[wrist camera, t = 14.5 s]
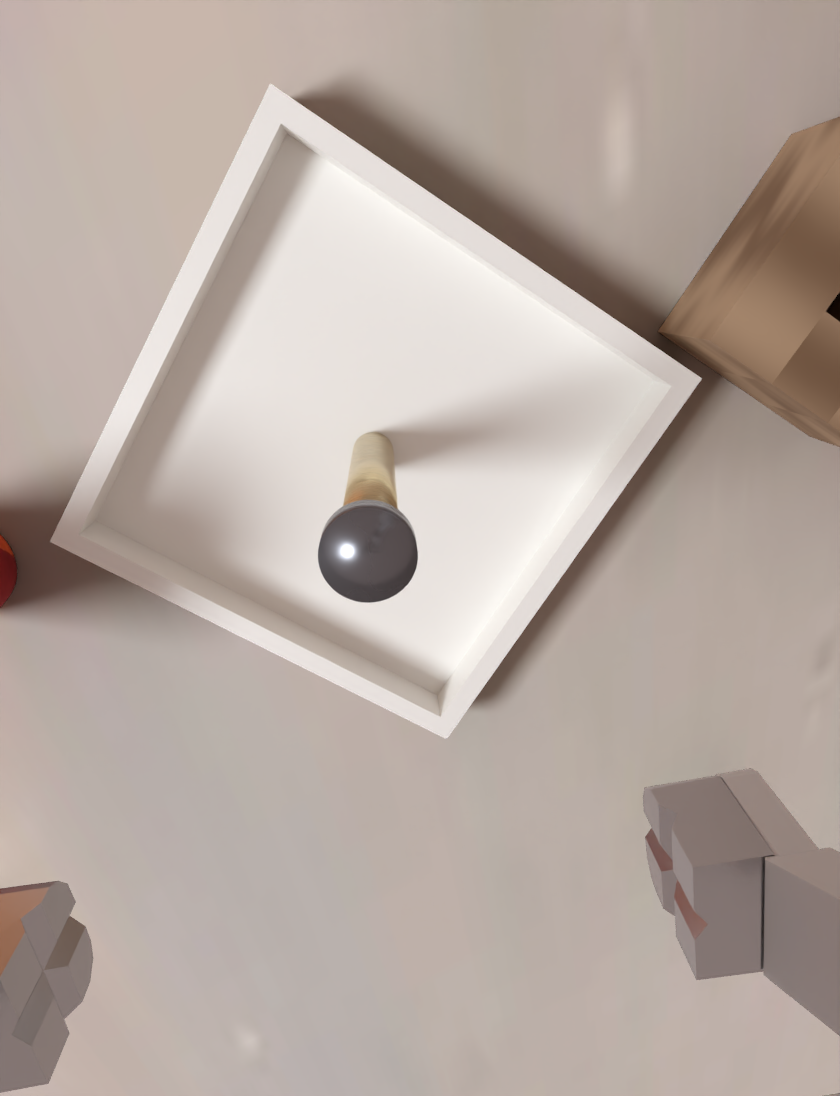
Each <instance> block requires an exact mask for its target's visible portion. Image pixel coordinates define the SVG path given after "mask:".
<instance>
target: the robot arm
mask: <svg viewBox="0 0 840 1096" xmlns="http://www.w3.org/2000/svg"><path fill="white" fill-rule="evenodd" d="M643 807H644V813H645V815H646V817H647V819H648V821H649V823H650V825H651V827H652V828H651V829H650V831H649V832H648V834H647V835H646V837H645V841H646V852H647V860H648V864H649V869H650V874H651V878H652V881H653V884H654V887H655V890H656V893H657V895H658V897H659V900H660V902H661V904H662V906H663V909H665V910H666V911H668V912H669V913H671V914H672V915H674V916H675V925H676V937H677V939H678V941H679V944H680V946H681V948H682V950H683V952H684V954H685V956H686V959H687V961H688V963H689V965H690V967H691V969H692V971H693V974H694V976H695V978H696V980H701V979H709V978H716V977H724V976H732V975H740V974H747V973H755V972H763V971H764V976H766V977H767V978H768V979H769V980H770V981H772V982H773V983H774V984H775V985H777V986H778V987H779V988H780V989H782V990H783V991H784V992H785V993H787V994H788V995H789V996H790V997H792V998H793V999H794V1000H795V1001H797V1002H798V1003H799V1004H800V1005H802V1006H803V1007H804V1008H805V1009H807V1010H808V1011H809V1012H810V1013H812V1014H813V1015H814V1016H815V1017H817V1018H818V1019H819V1020H820V1021H822V1022H823V1023H824V1024H825V1025H827V1026H828V1027H829V1028H830V1029H832V1030H833V1031H834V1032H835V1033H837V1034H838V1035H839V1036H840V852H838V851H836V850H834V849H832V848H824V849H818V847H817V846H816V845H815V844H814V842H813V841H812V840H811V839H810V837H809V836H808V835H807V834H806V832H805V831H804V830H803V828H802V827H801V826H800V825H799V823H798V822H797V821H796V820H795V818H794V817H793V816H792V815H791V813H790V812H789V811H788V809H787V808H786V807H785V806H784V804H783V803H782V802H781V801H780V799H779V798H778V797H777V796H776V794H775V793H774V792H773V790H772V789H771V788H770V787H769V785H768V784H767V783H766V782H765V780H764V779H763V778H762V777H761V775H760V774H759V773H758V772H757V771H755V770H753V769H751V768H749V769H743V770H738V771H732V772H727V773H721V774H716V775H715V776H709V777H703V778H697V779H691V780H685V781H679V782H673V783H667V784H661V785H655V786H649V787H645V788H644V793H643ZM75 903H76V901H75V899H74V897H73V895H72V893H71V890H70V888H69V886H68V884H67V883H63V882H60V881H53V882H46V883H39V884H31V885H24V886H16V887H9V888H2V889H0V1093H1V1092H7V1091H12V1090H17V1089H22V1088H28V1087H33V1086H38V1085H43V1084H48V1083H49V1081H50V1079H51V1076H52V1074H53V1071H54V1069H55V1067H56V1064H57V1062H58V1059H59V1057H60V1055H61V1052H62V1050H63V1047H64V1045H65V1043H66V1040H67V1038H68V1035H69V1031H68V1028H67V1025H66V1022H65V1020H64V1019H65V1018H66V1017H67V1016H68V1015H69V1014H70V1013H71V1012H72V1011H73V1010H74V1009H75V1008H76V1007H77V1006H78V1005H79V1004H80V1003H81V1002H82V1001H83V999H84V996H85V993H86V991H87V988H88V986H89V983H90V979H91V971H92V963H93V953H92V945H91V940H90V937H89V934H88V932H87V929H86V927H85V926H84V925H82V924H81V923H80V922H78V921H77V920H75V919H74V918H72V917H71V916H70V914H71V912H72V909H73V907H74V905H75ZM824 1096H840V1093H837V1094H830V1095H824Z"/></svg>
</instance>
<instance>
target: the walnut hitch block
mask: <svg viewBox="0 0 840 1096" xmlns="http://www.w3.org/2000/svg"><path fill="white" fill-rule="evenodd" d="M839 292H840V117H838V118H835V119H832V120H830V121H827V122H824V123H821V124H819V125H816V126H813V127H810V128H808V129H805V130H802V131H799V132H796V133H794V134H791V136H790V137H789V139H788V140H787V142H786V143H785V145H784V146H783V147H782V149H781V150H780V152H779V153H778V155H777V156H776V158H775V159H774V161H773V162H772V164H771V165H770V167H769V168H768V170H767V171H766V173H765V174H764V175H763V177H762V178H761V180H760V181H759V183H758V184H757V186H756V187H755V189H754V190H753V192H752V193H751V195H750V196H749V198H748V199H747V201H746V202H745V204H744V205H743V206H742V208H741V209H740V211H739V212H738V214H737V215H736V217H735V218H734V220H733V221H732V223H731V224H730V226H729V227H728V229H727V230H726V232H725V233H724V234H723V236H722V237H721V239H720V240H719V242H718V243H717V245H716V246H715V248H714V249H713V251H712V252H711V254H710V255H709V257H708V258H707V260H706V261H705V262H704V264H703V265H702V267H701V268H700V270H699V271H698V273H697V274H696V276H695V277H694V279H693V280H692V282H691V283H690V285H689V286H688V288H687V289H686V290H685V292H684V293H683V295H682V296H681V298H680V299H679V301H678V302H677V304H676V305H675V307H674V308H673V310H672V311H671V313H670V314H669V316H668V317H667V319H666V320H665V321H664V323H663V324H662V326H661V327H660V329H659V330H658V332H659V333H660V334H662V335H663V336H665V337H666V338H668V339H669V340H671V341H672V342H673V343H675V344H676V345H678V346H679V347H681V348H682V349H684V350H685V351H687V352H688V353H689V354H691V355H692V356H694V357H695V358H697V359H698V360H700V361H701V362H702V363H704V364H705V365H707V366H708V367H710V368H711V369H713V370H714V371H716V372H717V373H718V374H720V375H721V376H723V377H724V378H726V379H727V380H729V381H730V382H731V383H733V384H734V385H736V386H737V387H739V388H740V389H742V390H743V391H745V392H746V393H747V394H749V395H750V396H752V397H753V398H755V399H756V400H758V401H759V402H760V403H762V404H763V405H765V406H766V407H768V408H769V409H771V410H772V411H774V412H775V413H776V414H778V415H779V416H781V417H782V418H784V419H785V420H787V421H788V422H789V423H791V424H792V425H794V426H795V427H797V428H798V429H800V430H801V431H803V432H804V433H805V434H807V435H808V436H810V437H813V438H816V439H818V440H821V441H824V442H827V443H830V444H833V445H836V446H838V447H840V294H839ZM838 294H839V296H838V297H837V299H836V300H835V301H834V303H833V304H832V305H831V303H832V302H833V300H834V299H835V298H836V296H837V295H838ZM830 305H831V307H830V308H829V309H828V307H829V306H830ZM827 309H828V311H827V312H826V310H827Z"/></svg>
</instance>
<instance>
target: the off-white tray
mask: <svg viewBox="0 0 840 1096" xmlns="http://www.w3.org/2000/svg"><path fill="white" fill-rule="evenodd" d="M701 379H702V378H700V377H699V376H698V375H696V374H695V373H693V372H692V371H690V370H689V369H687V368H686V367H684V366H683V365H681V364H680V363H679V362H677V361H676V360H674V359H673V358H671V357H670V356H668V355H667V354H665V353H664V352H662V351H661V350H659V349H658V348H657V347H655V346H654V345H652V344H651V343H649V342H648V341H646V340H645V339H643V338H642V337H640V336H639V335H638V334H636V333H635V332H633V331H632V330H630V329H629V328H627V327H626V326H624V325H623V324H621V323H620V322H619V321H617V320H616V319H614V318H613V317H611V316H610V315H608V314H607V313H605V312H604V311H602V310H601V309H599V308H598V307H597V306H595V305H594V304H592V303H591V302H589V301H588V300H586V299H585V298H583V297H582V296H580V295H579V294H578V293H576V292H575V291H573V290H572V289H570V288H569V287H567V286H566V285H564V284H563V283H561V282H560V281H559V280H557V279H556V278H554V277H553V276H551V275H550V274H548V273H547V272H545V271H544V270H542V269H541V268H539V267H538V266H537V265H535V264H534V263H532V262H531V261H529V260H528V259H526V258H525V257H523V256H522V255H520V254H519V253H518V252H516V251H515V250H513V249H512V248H510V247H509V246H507V245H506V244H504V243H503V242H501V241H500V240H499V239H497V238H496V237H494V236H493V235H491V234H490V233H488V232H487V231H485V230H484V229H482V228H481V227H479V226H478V225H477V224H475V223H474V222H472V221H471V220H469V219H468V218H466V217H465V216H463V215H462V214H460V213H459V212H458V211H456V210H455V209H453V208H452V207H450V206H449V205H447V204H446V203H444V202H443V201H441V200H440V199H439V198H437V197H436V196H434V195H433V194H431V193H430V192H428V191H427V190H425V189H424V188H422V187H421V186H419V185H418V184H417V183H415V182H414V181H412V180H411V179H409V178H408V177H406V176H405V175H403V174H402V173H400V172H399V171H398V170H396V169H395V168H393V167H392V166H390V165H389V164H387V163H386V162H384V161H383V160H381V159H380V158H379V157H377V156H376V155H374V154H373V153H371V152H370V151H368V150H367V149H365V148H364V147H362V146H361V145H359V144H358V143H357V142H355V141H354V140H352V139H351V138H349V137H348V136H346V135H345V134H343V133H342V132H340V131H339V130H338V129H336V128H335V127H333V126H332V125H330V124H329V123H327V122H326V121H324V120H323V119H321V118H320V117H319V116H317V115H316V114H314V113H313V112H311V111H310V110H308V109H307V108H305V107H304V106H302V105H301V104H299V103H298V102H297V101H295V100H294V99H292V98H291V97H289V96H288V95H286V94H285V93H283V92H282V91H280V90H279V89H278V88H276V87H275V86H273V85H272V84H270V85H269V87H268V89H267V91H266V94H265V96H264V98H263V100H262V102H261V104H260V106H259V108H258V110H257V112H256V114H255V116H254V118H253V121H252V123H251V125H250V127H249V129H248V131H247V133H246V135H245V137H244V139H243V141H242V143H241V145H240V148H239V150H238V152H237V154H236V156H235V158H234V160H233V162H232V164H231V166H230V168H229V170H228V172H227V174H226V177H225V179H224V181H223V183H222V185H221V187H220V189H219V191H218V193H217V195H216V197H215V199H214V201H213V204H212V206H211V208H210V210H209V212H208V214H207V216H206V218H205V220H204V222H203V224H202V226H201V228H200V231H199V233H198V235H197V237H196V239H195V241H194V243H193V245H192V247H191V249H190V251H189V253H188V255H187V258H186V260H185V262H184V264H183V266H182V268H181V270H180V272H179V274H178V276H177V278H176V280H175V282H174V285H173V287H172V289H171V291H170V293H169V295H168V297H167V299H166V301H165V303H164V305H163V307H162V309H161V312H160V314H159V316H158V318H157V320H156V322H155V324H154V326H153V328H152V330H151V332H150V334H149V336H148V339H147V341H146V343H145V345H144V347H143V349H142V351H141V353H140V355H139V357H138V359H137V361H136V363H135V366H134V368H133V370H132V372H131V374H130V376H129V378H128V380H127V382H126V384H125V386H124V388H123V390H122V393H121V395H120V397H119V399H118V401H117V403H116V405H115V407H114V409H113V411H112V413H111V415H110V417H109V420H108V422H107V424H106V426H105V428H104V430H103V432H102V434H101V436H100V438H99V440H98V442H97V444H96V447H95V449H94V451H93V453H92V455H91V457H90V459H89V461H88V463H87V465H86V467H85V469H84V471H83V474H82V476H81V478H80V480H79V482H78V484H77V486H76V488H75V490H74V492H73V494H72V496H71V498H70V501H69V503H68V505H67V507H66V509H65V511H64V513H63V515H62V517H61V519H60V521H59V523H58V525H57V528H56V530H55V532H54V534H53V536H52V538H51V540H50V542H51V543H53V544H55V545H57V546H59V547H61V548H63V549H65V550H67V551H69V552H71V553H73V554H75V555H77V556H79V557H81V558H83V559H85V560H87V561H89V562H91V563H93V564H95V565H97V566H99V567H101V568H103V569H105V570H107V571H109V572H111V573H113V574H115V575H117V576H120V577H122V578H124V579H126V580H128V581H130V582H132V583H134V584H136V585H138V586H140V587H142V588H144V589H146V590H148V591H150V592H152V593H154V594H156V595H158V596H160V597H162V598H164V599H166V600H168V601H170V602H172V603H174V604H176V605H178V606H180V607H182V608H184V609H186V610H188V611H190V612H192V613H194V614H196V615H198V616H200V617H202V618H204V619H206V620H208V621H210V622H212V623H214V624H216V625H218V626H220V627H222V628H224V629H226V630H228V631H230V632H232V633H234V634H236V635H238V636H240V637H242V638H244V639H246V640H248V641H250V642H252V643H254V644H256V645H258V646H260V647H262V648H264V649H266V650H268V651H270V652H272V653H274V654H276V655H278V656H280V657H282V658H284V659H286V660H288V661H290V662H292V663H294V664H296V665H298V666H300V667H302V668H304V669H306V670H309V671H311V672H313V673H315V674H317V675H319V676H321V677H323V678H325V679H327V680H329V681H331V682H333V683H335V684H337V685H339V686H341V687H343V688H345V689H347V690H349V691H351V692H353V693H355V694H357V695H359V696H361V697H363V698H365V699H367V700H369V701H371V702H373V703H375V704H377V705H379V706H381V707H383V708H385V709H387V710H389V711H391V712H393V713H395V714H397V715H399V716H401V717H403V718H405V719H407V720H409V721H411V722H413V723H415V724H417V725H419V726H421V727H423V728H425V729H427V730H429V731H431V732H433V733H435V734H437V735H439V736H441V737H443V738H445V739H447V738H448V737H449V735H450V734H451V732H452V731H453V730H454V728H455V727H456V725H457V724H458V722H459V721H460V720H461V718H462V717H463V715H464V714H465V713H466V711H467V710H468V708H469V707H470V706H471V704H472V703H473V701H474V700H475V698H476V697H477V696H478V694H479V693H480V691H481V690H482V689H483V687H484V686H485V684H486V683H487V682H488V680H489V679H490V677H491V676H492V674H493V673H494V672H495V670H496V669H497V667H498V666H499V665H500V663H501V662H502V660H503V659H504V658H505V656H506V655H507V653H508V652H509V650H510V649H511V648H512V646H513V645H514V643H515V642H516V641H517V639H518V638H519V636H520V635H521V634H522V632H523V631H524V629H525V628H526V626H527V625H528V624H529V622H530V621H531V619H532V618H533V617H534V615H535V614H536V612H537V611H538V610H539V608H540V607H541V605H542V604H543V602H544V601H545V600H546V598H547V597H548V595H549V594H550V593H551V591H552V590H553V588H554V587H555V586H556V584H557V583H558V581H559V580H560V578H561V577H562V576H563V574H564V573H565V571H566V570H567V569H568V567H569V566H570V564H571V563H572V562H573V560H574V559H575V557H576V556H577V554H578V553H579V552H580V550H581V549H582V547H583V546H584V545H585V543H586V542H587V540H588V539H589V538H590V536H591V535H592V533H593V532H594V530H595V529H596V528H597V526H598V525H599V523H600V522H601V521H602V519H603V518H604V516H605V515H606V514H607V512H608V511H609V509H610V508H611V506H612V505H613V504H614V502H615V501H616V499H617V498H618V497H619V495H620V494H621V492H622V491H623V490H624V488H625V487H626V485H627V484H628V482H629V481H630V480H631V478H632V477H633V475H634V474H635V473H636V471H637V470H638V468H639V467H640V466H641V464H642V463H643V461H644V460H645V458H646V457H647V456H648V454H649V453H650V451H651V450H652V449H653V447H654V446H655V444H656V443H657V442H658V440H659V439H660V437H661V436H662V434H663V433H664V432H665V430H666V429H667V427H668V426H669V425H670V423H671V422H672V420H673V419H674V418H675V416H676V415H677V413H678V412H679V410H680V409H681V408H682V406H683V405H684V403H685V402H686V401H687V399H688V398H689V396H690V395H691V394H692V392H693V391H694V389H695V388H696V386H697V385H698V384H699V382H700V381H701ZM368 432H377V433H381V434H383V435H384V436H386V437H387V438H388V439H389V440H390V442H391V443H392V446H393V451H394V464H395V477H396V491H397V504H398V510H399V511H400V512H402V513H403V514H404V515H405V516H406V518H407V519H408V520H409V522H410V523H411V525H412V527H413V530H414V533H415V537H416V543H417V550H418V561H417V567H416V570H415V573H414V575H413V577H412V579H411V581H410V582H409V583H408V585H407V586H406V587H405V588H404V589H403V590H402V591H400V592H399V593H398V594H396V595H395V596H393V597H391V598H389V599H386V600H383V601H379V602H372V603H365V602H357V601H353V600H350V599H348V598H345V597H343V596H342V595H340V594H338V593H337V592H336V591H335V590H333V589H332V588H331V587H330V586H329V585H328V583H327V582H326V580H325V579H324V577H323V575H322V573H321V570H320V567H319V563H318V548H319V543H320V539H321V535H322V532H323V529H324V527H325V525H326V523H327V521H328V520H329V518H330V517H331V516H332V515H333V514H334V513H335V512H336V511H337V510H338V509H340V508H341V507H343V503H344V497H345V491H346V486H347V480H348V474H349V469H350V463H351V457H352V451H353V446H354V444H355V442H356V440H357V439H358V438H359V437H360V436H361V435H363V434H365V433H368Z"/></svg>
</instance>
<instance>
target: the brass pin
mask: <svg viewBox="0 0 840 1096" xmlns="http://www.w3.org/2000/svg"><path fill="white" fill-rule="evenodd" d="M417 561H418V550H417V543H416V537H415V533H414V530H413V527H412V525H411V523H410V522H409V520H408V519H407V518H406V516H405V515H404V514H403V513H402V512H400V511H399V510H398V504H397V491H396V477H395V464H394V451H393V446H392V443H391V442H390V440H389V439H388V438H387V437H386V436H384V435H383V434H381V433H377V432H368V433H365V434H363V435H361V436H360V437H359V438H358V439H357V440H356V442H355V444H354V446H353V451H352V457H351V463H350V469H349V474H348V480H347V486H346V491H345V497H344V503H343V507H341V508H340V509H338V510H337V511H336V512H335V513H334V514H333V515H332V516H331V517H330V518H329V520H328V521H327V523H326V525H325V527H324V529H323V532H322V535H321V539H320V543H319V548H318V563H319V567H320V570H321V573H322V575H323V577H324V579H325V580H326V582H327V583H328V585H329V586H330V587H331V588H332V589H333V590H335V591H336V592H337V593H338V594H340V595H342V596H343V597H345V598H348V599H350V600H353V601H357V602H365V603H372V602H379V601H383V600H386V599H389V598H391V597H393V596H395V595H396V594H398V593H399V592H400V591H402V590H403V589H404V588H405V587H406V586H407V585H408V583H409V582H410V581H411V579H412V577H413V575H414V573H415V570H416V567H417Z"/></svg>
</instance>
